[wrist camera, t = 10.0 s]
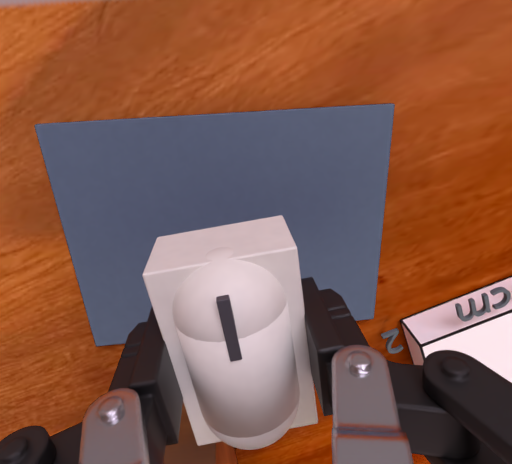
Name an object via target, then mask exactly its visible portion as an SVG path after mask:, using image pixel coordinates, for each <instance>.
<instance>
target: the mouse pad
mask: <svg viewBox="0 0 512 464" xmlns="http://www.w3.org/2000/svg"><path fill="white" fill-rule="evenodd" d="M394 106H395V105H394V104H391V103H390V104H373V105H356V106H339V107H321V108H304V109H287V110H269V111H252V112H235V113H218V114H200V115H183V116H166V117H148V118H131V119H114V120H97V121H79V122H62V123H45V124H36V125H35V130H36V133H37V137H38V140H39V144H40V147H41V151H42V155H43V158H44V162H45V165H46V169H47V172H48V176H49V180H50V183H51V187H52V190H53V194H54V198H55V201H56V205H57V208H58V212H59V215H60V219H61V223H62V226H63V230H64V233H65V237H66V240H67V244H68V248H69V251H70V255H71V258H72V262H73V265H74V269H75V273H76V276H77V280H78V283H79V287H80V291H81V294H82V298H83V301H84V305H85V308H86V312H87V316H88V319H89V323H90V326H91V330H92V333H93V337H94V341H95V344H96V346H104V345H115V344H125V343H126V341H127V338H128V335H129V333H130V332H131V331H132V330H133V329H134V328H135V327H136V325H137V324H138V323H141V322H147V321H148V317H149V314H150V311H151V308H152V304H151V301H150V298H149V295H148V291H147V288H146V285H145V282H144V279H143V276H142V275H143V272H144V269H145V267H146V264H147V262H148V259H149V257H150V254H151V252H152V249H153V247H154V244H155V242H156V239H157V238H158V237H161V236H167V235H172V234H178V233H184V232H189V231H195V230H201V229H206V228H212V227H218V226H223V225H229V224H235V223H240V222H246V221H251V220H257V219H263V218H268V217H274V216H280V215H282V216H283V218H284V220H285V222H286V224H287V227H288V229H289V231H290V233H291V235H292V238H293V240H294V242H295V244H296V246H297V250H298V259H299V267H300V275H301V279H303V278H308V277H313V279H314V281H315V283H316V285H317V287H318V290H324V289H330V288H331V289H332V290H334V291H335V292H337V293H338V294H340V295H341V296H342V298H343V300H344V301H345V303H346V305H347V308H348V309H349V310H350V312H351V315H352V316H353V318H354V319H355V321H357V320H367V319H373V318H374V309H375V299H376V289H377V278H378V268H379V258H380V248H381V238H382V228H383V217H384V207H385V197H386V187H387V177H388V167H389V157H390V146H391V136H392V126H393V116H394Z"/></svg>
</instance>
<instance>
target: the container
mask: <svg viewBox="0 0 512 464" xmlns="http://www.w3.org/2000/svg"><path fill="white" fill-rule="evenodd" d="M400 322H401V325H402V328H403V331H404V335H405V338H406V341H407V344H408V348H409V351H410V354H411V357H412V361H413V364H414V365H423V362H424V360H425V358H426V357H427V356H428V355H429V354H431V353H433V352H435V351H439V350H453V351H458V352H462V353H465V354H467V355H469V356H471V357H473V358H475V359H476V360H478V361H479V362H481V363H482V364H484V365H485V366H487V367H488V368H490V369H491V370H493V371H495V372H496V373H498V374H499V375H501V376H502V377H504V378H505V379H507V380H508V381H510V382H511V383H512V276H510V277H508V278H505V279H502V280H500V281H497V282H495V283H492V284H490V285H487V286H485V287H482V288H480V289H477V290H475V291H472V292H469V293H467V294H464V295H462V296H459V297H457V298H454V299H452V300H449V301H447V302H444V303H442V304H439V305H436V306H434V307H431V308H429V309H426V310H424V311H421V312H419V313H416V314H414V315H411V316H408V317H406V318H403V319H401V320H400ZM398 333H399V330H398V329H397V328H395V329H393V330H390V331H388V332H385V333H382V334H381V336H382V338H383V339H384V338H387V337H389V338H388V340H387V342H386V348H387V350H388V352H389V353H392V354H394V353H398V352H400V351H401V350H402V349H403V347H402V345H401V344H400V345H399V346H398V347H396V348H391V344H392V342H393V341H394V339H395V338H396V336H397V335H398Z"/></svg>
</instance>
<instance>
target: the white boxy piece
mask: <svg viewBox="0 0 512 464" xmlns="http://www.w3.org/2000/svg"><path fill="white" fill-rule="evenodd" d="M142 276H143V279H144V282H145V285H146V288H147V291H148V295H149V298H150V301H151V304H152V307H153V310H154V313H155V316H156V319H157V322H158V325H159V328H160V332H161V335H162V338H163V340H164V341H165V343H166V346H167V349H168V352H169V356H170V359H171V362H172V365H173V368H174V371H175V374H176V377H177V380H178V384H179V387H180V390H181V393H182V396H183V403H184V406H185V409H186V412H187V415H188V418H189V421H190V424H191V427H192V430H193V433H194V437H195V440H196V443H197V445H198V446H201V445H206V444H211V443H216V442H222V441H223V442H224V443H226V444H228V445H230V446H232V447H235V448H239V449H245V450H253V449H260V448H263V447H267V446H269V445H271V444H273V443H275V442H276V441H277V440H279V439H280V438H281V437H282V436H283V435H284V434H285V433H286V432H287V431H288V429H290V428H295V427H300V426H306V425H311V424H316V423H317V422H318V418H317V409H316V401H315V392H314V384H313V378H312V375H311V367H310V359H309V350H308V342H307V334H306V325H305V317H304V315H305V309H304V300H303V292H302V284H301V275H300V267H299V259H298V250H297V246H296V244H295V242H294V240H293V238H292V235H291V233H290V231H289V229H288V227H287V224H286V222H285V220H284V218H283V216H282V215H280V216H274V217H268V218H263V219H257V220H251V221H246V222H240V223H235V224H229V225H223V226H218V227H212V228H206V229H201V230H195V231H189V232H184V233H178V234H172V235H167V236H161V237H158V238H157V239H156V242H155V244H154V247H153V249H152V252H151V254H150V257H149V259H148V262H147V264H146V267H145V269H144V272H143V275H142Z"/></svg>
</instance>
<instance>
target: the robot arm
mask: <svg viewBox="0 0 512 464" xmlns="http://www.w3.org/2000/svg"><path fill="white" fill-rule="evenodd" d="M301 284H302V292H303V300H304V309H305V315H304V317H305V325H306V334H307V342H308V350H309V359H310V367H311V375H312V378H313V381H314V384H315V388H316V391H317V394H318V397H319V401H320V404H321V407H322V410H323V414H324V416H327V415H332V414H333V428H332V464H414V463H413V459H412V454H411V453H414V454H421V455H424V456H425V457H426V458H427V459H428V461H429V462H430V463H431V464H512V383H511V382H510V381H508V380H507V379H505V378H504V377H502V376H501V375H499V374H498V373H496V372H495V371H493V370H491V369H490V368H488V367H487V366H485V365H484V364H482V363H481V362H479V361H478V360H476V359H475V358H473V357H471V356H469V355H467V354H465V353H462V352H458V351H453V350H439V351H435V352H433V353H431V354H429V355H428V356H427V357H426V358H425V360H424V362H423V365H410V364H399V363H394V362H391V361H388V360H386V359H385V357H384V356H383V355H382V354H381V353H380V352H379V351H377V350H376V349H374V348H371V347H370V346H369V345H368V343H367V341H366V339H365V337H364V336H363V334H362V332H361V330H360V328H359V327H358V325H357V323H356V321H355V319H354V318H353V316H352V315H351V312H350V310H349V309H348V308H347V305H346V303H345V301H344V300H343V298H342V296H341V295H340V294H338V293H337V292H335V291H334V290H332V289H331V288H330V289H324V290H318V287H317V285H316V283H315V281H314V279H313V277H308V278H303V279H301ZM182 405H183V396H182V393H181V390H180V387H179V384H178V380H177V377H176V374H175V371H174V368H173V365H172V362H171V359H170V356H169V352H168V349H167V346H166V343H165V341H164V340H163V338H162V335H161V332H160V328H159V325H158V322H157V319H156V316H155V313H154V310H153V307H152V308H151V311H150V314H149V317H148V321H147V322H141V323H138V324H137V325H136V327H135V328H134V329H133V330H132V331H131V332H130V333H129V335H128V338H127V341H126V343H125V348H124V349H123V352H122V355H121V358H120V360H119V363H118V366H117V369H116V371H115V374H114V377H113V380H112V383H111V386H110V388H109V391H108V392H107V393H105V394H104V395H102V396H100V397H99V398H98V399H97V400H95V401H94V402H93V403H92V404H91V405H90V407H89V408H88V409H87V411H86V413H85V415H84V417H83V421H82V422H81V423H79V424H77V425H75V426H73V427H70V428H68V429H66V430H64V431H61V432H59V433H57V434H55V435H53V436H49V434H48V433H47V431H46V430H45V428H43V427H41V426H29V427H25V428H22V429H20V430H17V431H15V432H13V433H12V434H10V435H8V436H7V437H6V438H4V439H3V440H2V441H0V464H165V463H164V455H165V448H166V446H167V445H172V444H177V443H178V440H179V431H180V422H181V414H182Z"/></svg>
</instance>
